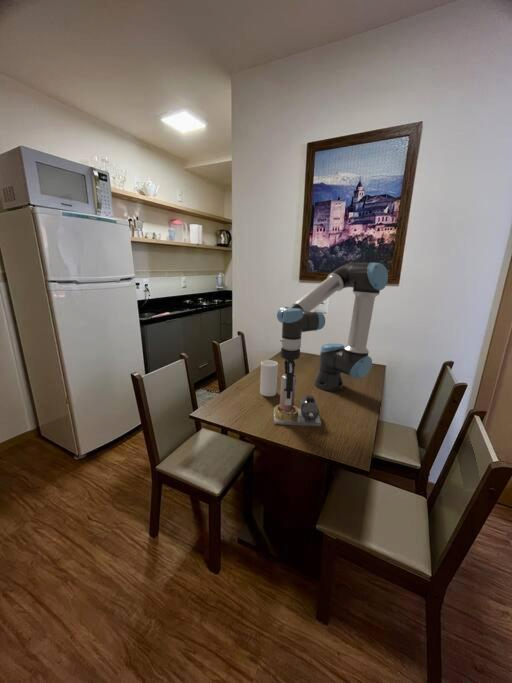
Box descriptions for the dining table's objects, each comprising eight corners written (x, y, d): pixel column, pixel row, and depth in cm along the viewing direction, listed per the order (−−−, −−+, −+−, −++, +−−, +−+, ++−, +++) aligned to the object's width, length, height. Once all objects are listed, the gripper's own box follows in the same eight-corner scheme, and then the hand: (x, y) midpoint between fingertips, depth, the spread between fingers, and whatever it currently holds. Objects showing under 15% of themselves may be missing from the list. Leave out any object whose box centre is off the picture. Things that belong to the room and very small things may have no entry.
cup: (278, 391, 142) (280, 361, 138) (272, 397, 135) (274, 366, 130) (263, 388, 145) (265, 359, 141) (257, 394, 138) (258, 364, 134)
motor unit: (316, 412, 122) (318, 391, 119) (321, 427, 111) (323, 404, 108) (273, 410, 123) (274, 389, 120) (274, 425, 111) (275, 402, 109)
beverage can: (278, 405, 119) (280, 373, 115) (292, 405, 119) (294, 373, 115) (280, 413, 113) (282, 379, 109) (295, 412, 114) (297, 378, 110)
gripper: (280, 341, 119) (277, 390, 125) (282, 354, 100) (278, 412, 106) (297, 342, 118) (294, 391, 124) (303, 355, 100) (298, 413, 106)
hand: (287, 400), depth 115 cm, fingers closed on beverage can, 6 cm apart
